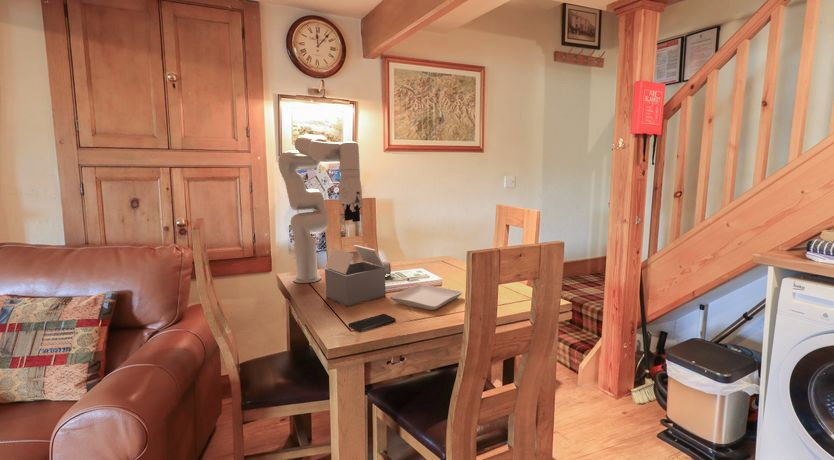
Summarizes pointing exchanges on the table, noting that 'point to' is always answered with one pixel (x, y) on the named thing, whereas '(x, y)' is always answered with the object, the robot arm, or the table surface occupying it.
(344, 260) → the flap
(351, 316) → the table surface
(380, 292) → the carton
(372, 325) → the phone
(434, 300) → the salad plate
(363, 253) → the flap
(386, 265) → the ceramic mug
